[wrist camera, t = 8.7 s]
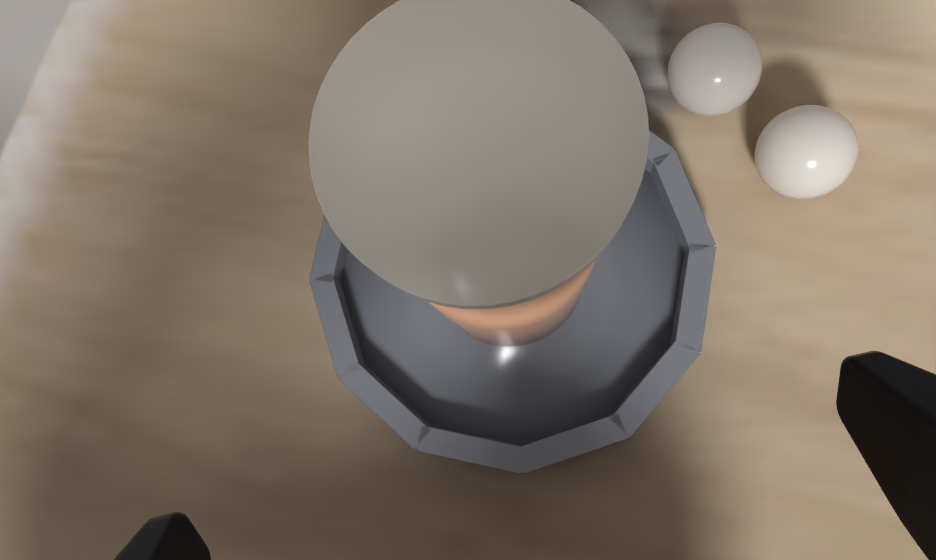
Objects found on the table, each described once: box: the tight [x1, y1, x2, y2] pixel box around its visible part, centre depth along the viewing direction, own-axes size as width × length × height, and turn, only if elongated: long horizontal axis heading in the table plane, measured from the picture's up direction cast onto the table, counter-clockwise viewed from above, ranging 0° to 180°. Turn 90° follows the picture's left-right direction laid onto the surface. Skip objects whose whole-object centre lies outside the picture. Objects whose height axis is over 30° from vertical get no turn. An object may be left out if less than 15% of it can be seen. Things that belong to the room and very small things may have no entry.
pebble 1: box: [667, 23, 762, 116], centre depth 22 cm, size 3×3×3 cm
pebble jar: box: [308, 0, 649, 346], centre depth 17 cm, size 6×6×12 cm
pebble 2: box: [754, 105, 859, 199], centre depth 21 cm, size 3×3×3 cm
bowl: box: [309, 131, 716, 474], centre depth 22 cm, size 13×13×2 cm
